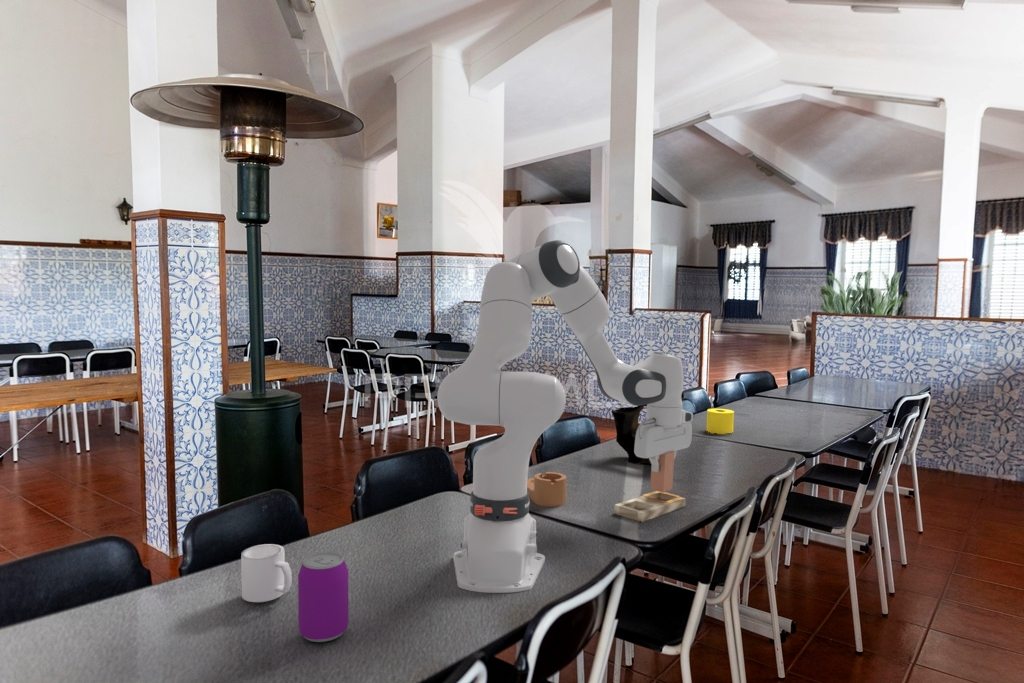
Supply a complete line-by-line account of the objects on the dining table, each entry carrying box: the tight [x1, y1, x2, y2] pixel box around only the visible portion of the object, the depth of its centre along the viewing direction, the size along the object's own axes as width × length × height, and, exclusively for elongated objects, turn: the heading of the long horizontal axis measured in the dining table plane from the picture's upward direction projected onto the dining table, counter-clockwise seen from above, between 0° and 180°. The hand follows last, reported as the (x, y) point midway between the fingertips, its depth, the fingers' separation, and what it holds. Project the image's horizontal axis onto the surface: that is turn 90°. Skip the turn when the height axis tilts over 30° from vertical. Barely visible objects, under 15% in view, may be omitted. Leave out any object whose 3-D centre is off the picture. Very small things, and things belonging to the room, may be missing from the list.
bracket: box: [527, 471, 567, 508], centre depth 181 cm, size 18×8×7 cm, turn 18°
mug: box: [240, 543, 293, 603], centre depth 121 cm, size 10×7×8 cm
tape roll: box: [706, 408, 735, 435], centre depth 264 cm, size 10×10×9 cm
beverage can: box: [297, 550, 350, 643], centre depth 108 cm, size 8×8×12 cm
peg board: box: [613, 490, 686, 523], centre depth 170 cm, size 18×8×3 cm, turn 132°
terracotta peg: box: [649, 451, 675, 492], centre depth 173 cm, size 4×4×10 cm
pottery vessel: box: [611, 404, 651, 465], centre depth 217 cm, size 25×11×20 cm, turn 47°
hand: (662, 469), depth 173 cm, fingers closed on terracotta peg, 4 cm apart
